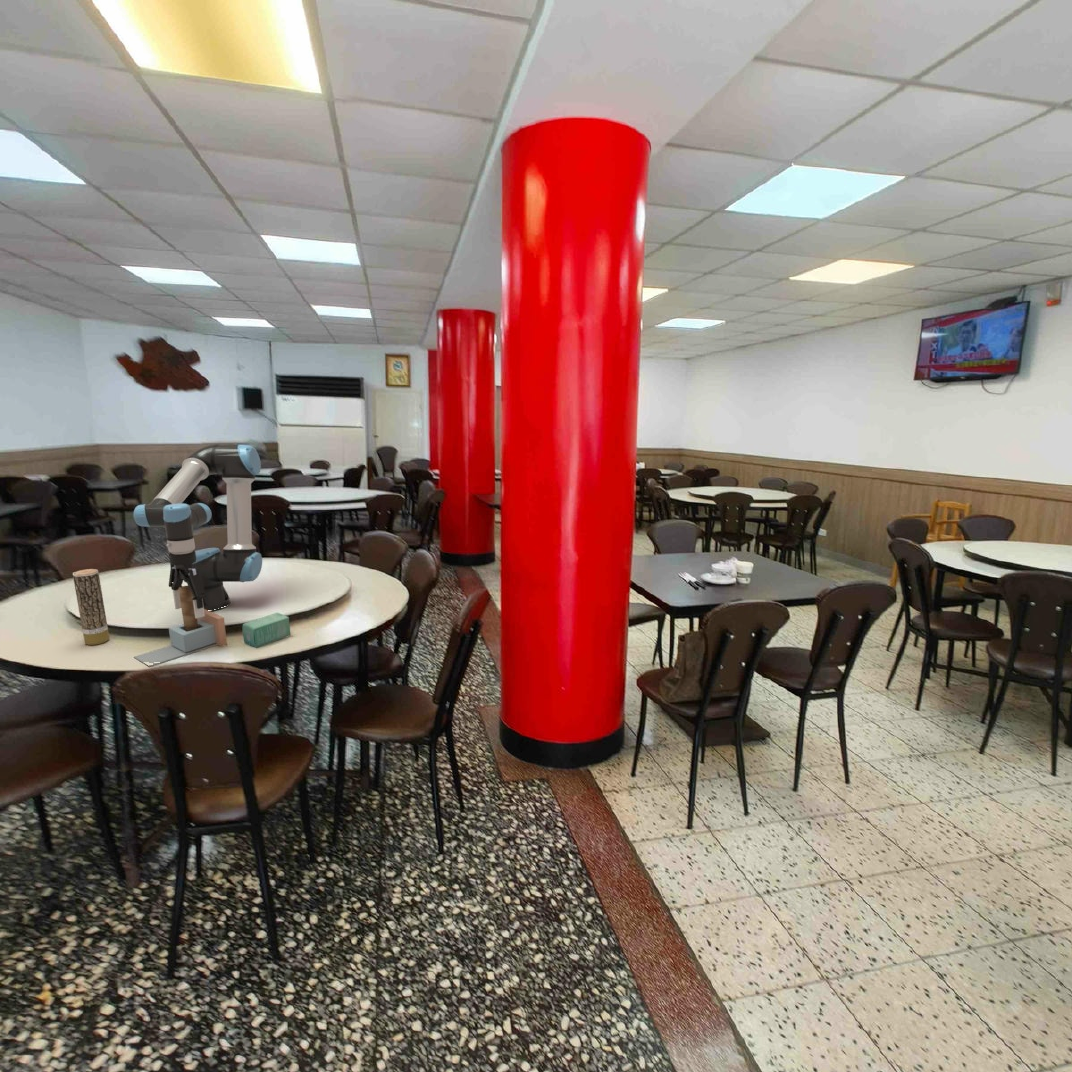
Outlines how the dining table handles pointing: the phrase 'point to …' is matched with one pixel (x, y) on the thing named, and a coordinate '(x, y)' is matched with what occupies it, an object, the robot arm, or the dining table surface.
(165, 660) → the mat
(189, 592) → the dowel
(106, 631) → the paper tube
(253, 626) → the box
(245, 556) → the robot arm
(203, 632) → the socket block
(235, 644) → the dining table surface
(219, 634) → the wall
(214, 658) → the dining table surface
